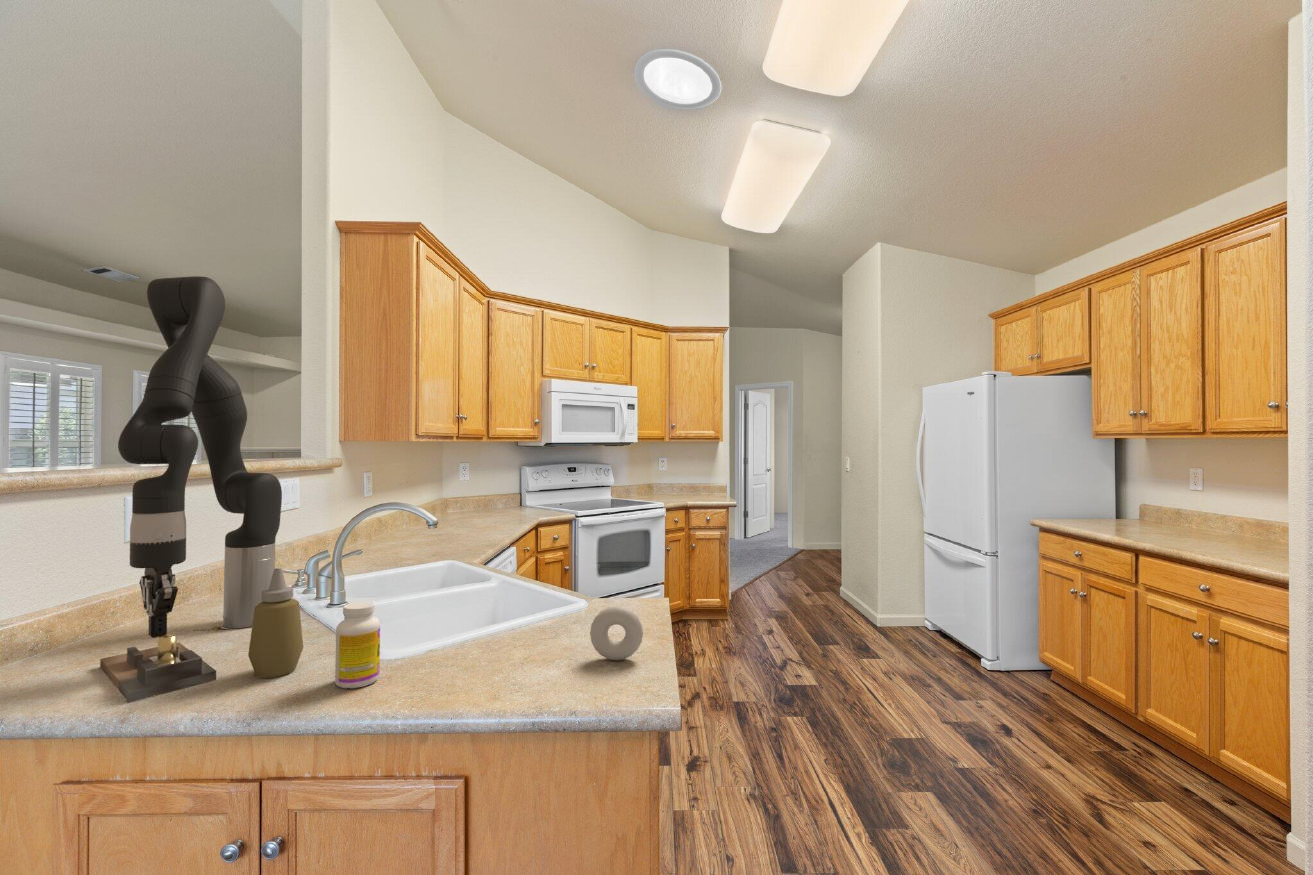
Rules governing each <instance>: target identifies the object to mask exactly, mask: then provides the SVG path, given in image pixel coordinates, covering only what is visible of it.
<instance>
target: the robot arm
mask: <svg viewBox="0 0 1313 875" xmlns="http://www.w3.org/2000/svg"><path fill="white" fill-rule="evenodd" d="M146 296H147V301H148V305H149V308H150V312H151V313H152V314H151V315H152V317H153V318H154V320H155V322H156V325H157V328H158V329H159V331H160V333H161V335H162V338H163V340H164V342H165V343H166V347H168V348H167V349H166V350H165V351H164V352H163V353H162V354H161V355H160V356H159V358H157V360H156V361H155V363H154V364H153V365H152V367H151V368H150V372H149V373H148V378H147V380H146V386H145V390H144V394H143V399H142V401H141V402H140V404H139V405H138V407H137V408H136V410H135V412H134V413H133V415H132V416H131V417H130V419H129V420H128V422H127V423H126V425H125V426H124V427H123V430H121V433H120V436H119V438H118V441H117V442H118V444H117V449H118V452H119V454H120V457H121V458H122V459H123V460H124V461H126V462H127V463H129V464H133V465H168V466H167V469H166V470H165V472H163V474H161V475H156V476H153V477H146V478H141V479H139V480H136V481H135V482H134V484H133V485H132V491H131V492H132V494H131V495H132V496H131V497H132V498H131V499H132V500H131V501H132V504H131V506H132V508H131V510H132V511H131V512H132V514H131V519H130V524H129V525H130V526H129V566H130V567H131V568H133V569H144V572H143V573H144V575H141V577H140V579H139V581H138V582H139V586H140V591H141V597H142V602H143V609H144V610H146V611H145V613H146V614H147V616H148V628H147V629H148V636H149V637H150V638H152V639H156V638H158V637H160V636H163V635H168V634H167V633H168V614H169V613H172V612H173V608H174V605H175V601H176V598H177V594H178V591H179V588H178V586H176V585H175V584H176V577H177V576H176V574H175V573H173V569H172V567H174V566H176V565H179V564H182V563H184V562H185V561H186V559H187V519H186V512H185V507H186V506H185V502H186V501H185V500H186V486H187V481H188V478H189V474H190V471H191V467H192V465H193V462H194V460H195V458H196V455H197V451H198V447H199V438H198V436H197V433H196V431H195V430H194V429H193V428H192V427H190V426H189V425H186V424H165V423H168V422H171V421H176V420H181V419H184V418H186V417H188V416H189V415H191V414H192V417H193V419H194V421H195V424H196V426H197V430H198V433H199V435H200V438H201V442H202V445H203V448H204V451H205V455H206V459H207V463H208V466H209V470H210V471H209V472H210V474H211V475H210V476H211V480H212V485H213V490H214V494H215V497H216V501H217V502H218V505H219V506H221V508H222V509H223V510H225V511H226V512H228V513H231V514H241V515H243V517H242V524H240V526H239V527H238V528H235V529H234V530H231V531H228V532H227V533H225V534H226V535H225V538H224V566H223V567H224V572H223V575H224V576H223V613H222V614H223V615H222V618H223V619H222V620H223V622H222V626H223V627H225V628H228V629H229V628H230V629H241V628H252V624H253V617H254V610H255V607H256V606H257V605H258V604H259V603H261V602H263V601H262V600H261V598H262V591H263V590H265V589H269V586H270V582H271V579H272V575H273V571H274V569H276V537H277V535H278V532H279V529H280V526H281V515H282V514H281V513H282V501H283V500H282V499H283V489H282V485H281V483H280V482H281V481H280V480H279V479H278V477H277V476H276V475H274V474H272V473H268V472H249V471H248V470H247V468H246V465H245V463H244V460H243V456H242V452H241V445H242V444H241V443H242V439H243V436H244V432H245V430H246V426H247V423H248V422H247V421H248V410H247V406H246V404H245V400H244V397H243V396H244V395H243V393H242V390H241V388H240V385H239V383H238V381H237V380H236V379H235V378H234V377H233V376H232V375H231V374H230V373H229V372H228V371H227V370H226V369H225V368H223V366H221V365H220V364H219V363H218V362H217V361H215V359H213V358H212V357H211V356H210V355H209V354H208V353H209V351H210V349H211V346H212V344H213V342H214V340H215V339H216V338H215V337H216V335H217V333H218V331H219V329H220V326H221V324H222V321H223V319H224V315H225V310H226V299H225V295H224V292H223V290H222V288H221V287H220V286H219V284H218V283H217V282H216V281H215V280H213V279H212V278H210V277H207V276H197V275H196V276H179V277H177V276H176V277H163V278H156V279H153V280H151V281H150V282H149V283H148V285H147V289H146Z"/></svg>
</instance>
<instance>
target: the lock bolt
mask: <svg viewBox="0 0 1313 875" xmlns="http://www.w3.org/2000/svg"><path fill="white" fill-rule="evenodd" d="M177 637H178V636H177V634H175V633H171V634H166V635H163V636H160V637H157V647H158V649H157V656H154V657H150V658H149V659H151V660H152V661H153V662H154V663H155V664H156V665H157V666H158V667H159V666H163V665H168V664H172V663H176V662H181V660H180V659H179V658H177V657H176V643H178V642H177Z"/></svg>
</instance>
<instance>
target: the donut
mask: <svg viewBox="0 0 1313 875" xmlns="http://www.w3.org/2000/svg"><path fill="white" fill-rule="evenodd" d="M615 625H619V626H621V627H622V628H623V630H624V631H625V632H624V633H625V635H624V636H623V638H622V639H621V640H618V641H616V640H613V639H612V638H610V636H609V630H610V628H611V627H613V626H615ZM589 634H590V635H589V636H590V643H591V644H592V646H593V648H594V650H595V651H596V653H598V654H599V655H600V656H601V657H602V658H605V659H607V660H612V661H621V660H622V661H623V660H626V659H627V658H629V657H632V656H633V655H634V654H635V653H636V652H637V651H638V649H639V648H640V646H641V645H642V642H643V638H644V630H643V624H642V622H641V620H640V618H639V617H638V615H637V614H636V613H635V612H634V611H633V610H631V609H630V608H628V607H625V606H620V605H615V606H608V607H606V608H604V609H602V610H601V611H600V612H598V614H597V615H596V616H595V617H594V618H593V620H592V623H591V625H590V631H589Z"/></svg>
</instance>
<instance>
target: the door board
mask: <svg viewBox="0 0 1313 875" xmlns="http://www.w3.org/2000/svg"><path fill="white" fill-rule="evenodd" d="M157 649H158V646H155V647H150V648H145V649H141V650H139V649H138V648H137V647H136V646H130V647H127V648H126V653H122V654H118V655H113V656H108V657H104V658H100V659H99V661H100V662H99V667H100V669H101V670H102V671H103V673H104V674H105V675H106V677H107V678H108V679H109V680H110V681H111V683H112V684H113V685H114V686H115V687H116V689H117V688H118V689H117V690H118V691H119V692H120V694H121V695H122V696H123V697H124V699H125V700H126V699H127V700H126V701H127V702H128V703H132V702H136V701H139V700H140V701H141V700H143V699H147V698H146V697H148V698H152V697H155V696H158V695H161V694H162V695H163V694H168V693H170V691H171V692H174V690H175V691H178V690H181V689H185V688H190V687H193V686H197V685H200V684H206V683H208V682H209V683H210V682H213V681H217V670H216V669H215V668H213V667H212V666H211V665H210V664H208V663H207V662H206V661H204V660H203V657H201V656H200V655H199V654H197V653H196V652H195V651H193V650H192V649H189V648H187V647H186V646H185V645H183V644H182V643H181V642H177V643H176V657H177V658H179V659H180V660H181V662H176V663H172V664H168V665H163V666H159V667H158V666H157V665H156V664H155V663H154V662H153V661H152V660H151V659H149V658H150V657H154V656H157ZM189 686H190V687H189ZM154 695H155V696H154ZM151 696H152V697H151Z"/></svg>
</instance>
